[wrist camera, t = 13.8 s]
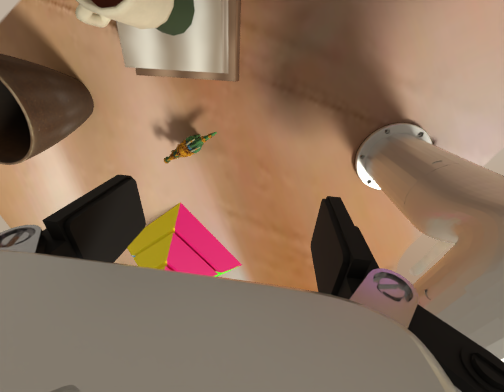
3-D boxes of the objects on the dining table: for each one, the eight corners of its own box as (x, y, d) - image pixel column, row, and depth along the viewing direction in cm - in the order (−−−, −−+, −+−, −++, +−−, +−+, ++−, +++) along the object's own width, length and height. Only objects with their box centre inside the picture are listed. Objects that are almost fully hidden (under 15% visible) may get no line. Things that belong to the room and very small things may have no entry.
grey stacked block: (241, -54, 29) (229, -96, 22) (238, 80, 37) (229, 81, 30) (129, -56, 30) (83, -96, 23) (149, 75, 38) (120, 74, 31)
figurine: (170, 146, 44) (149, 160, 37) (218, 119, 40) (205, 128, 33) (179, 159, 45) (161, 175, 38) (227, 133, 41) (216, 145, 34)
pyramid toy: (122, 240, 60) (81, 282, 48) (181, 198, 51) (149, 237, 38) (184, 291, 68) (163, 339, 56) (245, 263, 59) (235, 313, 47)
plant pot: (128, 120, 42) (54, 141, 28) (78, 148, 47) (-6, 178, 33) (72, 36, 36) (-57, 11, 22) (21, 77, 41) (-114, 78, 27)
